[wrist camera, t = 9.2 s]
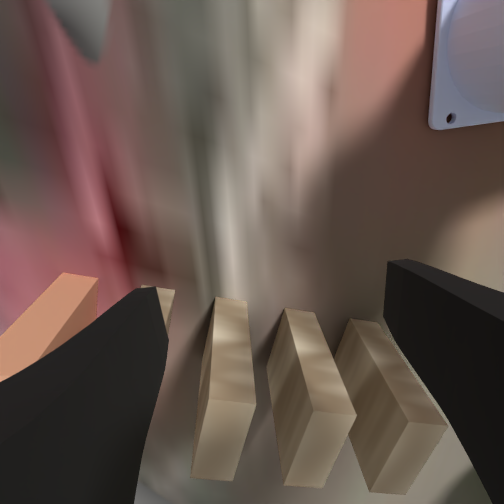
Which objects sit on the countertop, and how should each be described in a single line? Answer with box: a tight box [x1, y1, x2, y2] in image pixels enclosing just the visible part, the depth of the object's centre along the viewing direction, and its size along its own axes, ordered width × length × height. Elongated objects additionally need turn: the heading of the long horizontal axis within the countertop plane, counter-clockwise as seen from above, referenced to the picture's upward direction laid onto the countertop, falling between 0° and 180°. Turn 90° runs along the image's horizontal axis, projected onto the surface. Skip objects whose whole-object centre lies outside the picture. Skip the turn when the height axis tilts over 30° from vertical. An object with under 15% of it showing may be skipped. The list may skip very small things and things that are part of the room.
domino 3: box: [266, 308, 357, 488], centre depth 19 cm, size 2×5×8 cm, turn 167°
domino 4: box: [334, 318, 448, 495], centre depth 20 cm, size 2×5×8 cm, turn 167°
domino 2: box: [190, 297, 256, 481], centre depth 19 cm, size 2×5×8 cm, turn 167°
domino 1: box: [0, 273, 98, 382], centre depth 17 cm, size 2×5×8 cm, turn 167°
